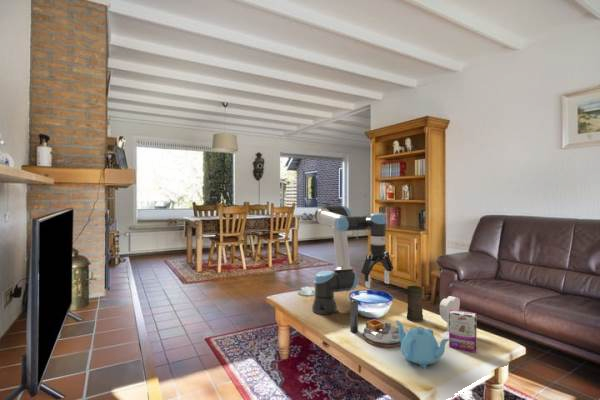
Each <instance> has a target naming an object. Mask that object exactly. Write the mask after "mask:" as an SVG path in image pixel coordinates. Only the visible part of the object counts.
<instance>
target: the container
mask: <svg viewBox="0 0 600 400" xmlns="http://www.w3.org/2000/svg"><path fill="white" fill-rule="evenodd" d="M406 289H407V308H406V309H407V312H406V319H407V320H408V321H410V322H414V323H420V322H423V321H424V315H423V290H424V289H423V287H421V286H418V285H408V286H407V288H406Z"/></svg>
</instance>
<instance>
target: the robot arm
mask: <svg viewBox="0 0 600 400" xmlns="http://www.w3.org/2000/svg"><path fill="white" fill-rule="evenodd" d="M386 218H387V217H386V214H384V213H379V212H378V213H377V212H375V213H371V214H370V215H367V214H366V215H365V214H364V215H359V216H358V215H357V216H355V215H354V216H352V214H351V211H350V209H349V208H348V207H347V205H321V206H319V207H318V208H317V209H316V210H315V211H314V220H315V221H316V223H319V224H321V225H329V227H330V228H331V229H332V234H333V245H334V254H335V255H334V256H335V264H336V265H335V266H336V267H335V268H334V271H332V270H322V271H318V272H317V273H316V274H315V276H314V299H313V302H312V303H313V304H312V306H311V310H312V312H313V313H315V314H317V315H332V314H335V313H337V312H338V306H337V303H336V300H335V293H341V292H351V291H354V290H355V289H356V288H357V286H358V281H359V279H358V275H357V272H356V271H354V268H353V267H352V266H351V262H350V260H351V259H350V253H349V244H348V243H349V242H348V233H347V232H351V231H369V232H370V233H369V234H370V235H369V236H370V237H369V238H370V240H369V241H370V242H369V243H370V245H369V247H370V248H369V251H370V254H369V253H368V254H366V255H365V261H364V263H363V265H362V269H361V274H363V275H364V285H365V288H367V289H371V275H370V274H371V271H373V268H374V266H375V265H376V264H378V263H381V265H382V266H383V267H384V269H385V270H384V274H383V275H384V277H383V279H384V280H383V282H384V283H385V284H388V285H389V284H390V277H391V272H392V271H393V269H394V266H393V264H392V261H391V260H392V259H391V258H390V253H389V251H387V252H386V245H385V244H386V233H387V230H386V229H387V226H386V225H387V221H386V220H387V219H386Z"/></svg>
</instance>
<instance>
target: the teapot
mask: <svg viewBox="0 0 600 400" xmlns="http://www.w3.org/2000/svg"><path fill="white" fill-rule="evenodd" d="M395 322H396V323H397V325H398V327H399V340H400V342H401V346H400V351H401V353H402V356H404V358H405V359H404V360H405V362H410V363H415V364H418V365H419V367H420V368H421V369H427V368H428V366H427V365H432V364H435V363H436V362H437V361H439V360H440V358H441V357H442V356H443V355H444V354H445V349H446V344H447V342H449V340H450V339H449V338H442V339H441V341H440V343H438V341H437V339H436V337H435V336H434V330H432V329H431V328H426V329H425V328H424V327H422V326H417V327H416V328H415V327H414V328H411V329H409V330H408V331H407V332H406V333H405V330H404V326H403V324H402V323H401V321H400V320H397V319H396V320H395ZM439 344H440V345H439Z"/></svg>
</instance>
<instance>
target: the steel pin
mask: <svg viewBox="0 0 600 400" xmlns="http://www.w3.org/2000/svg"><path fill="white" fill-rule="evenodd" d="M349 310H350V311H349V313H350V314H349V321H350V322H349V323H350V324H349V330H350V331H349V332H351V333H352V334H353V333H354V334H357V333H359V300H358V299H354V298H353V299H352V298H351V299H350V300H349Z"/></svg>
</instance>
